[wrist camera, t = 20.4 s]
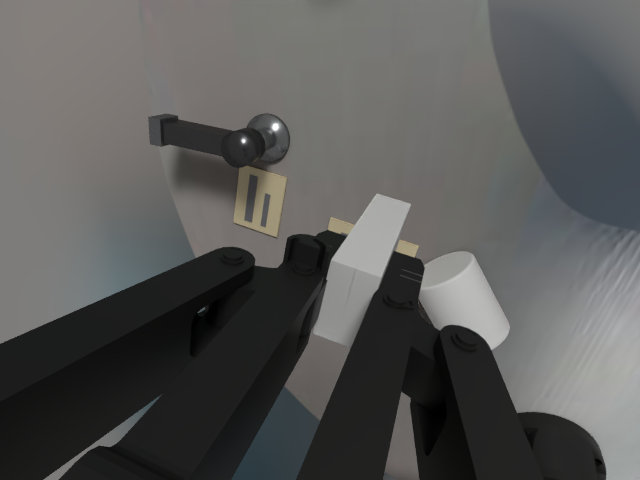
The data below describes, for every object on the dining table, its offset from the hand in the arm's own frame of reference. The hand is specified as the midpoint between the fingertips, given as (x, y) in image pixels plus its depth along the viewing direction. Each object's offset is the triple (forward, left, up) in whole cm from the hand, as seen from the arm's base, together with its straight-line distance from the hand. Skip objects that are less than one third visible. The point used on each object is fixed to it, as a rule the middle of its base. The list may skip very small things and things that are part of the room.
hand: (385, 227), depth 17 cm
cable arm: (-7, +25, -28) cm, 38 cm away
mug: (-20, -8, -33) cm, 39 cm away
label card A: (-16, +20, -33) cm, 41 cm away
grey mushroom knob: (-7, +20, -33) cm, 39 cm away
